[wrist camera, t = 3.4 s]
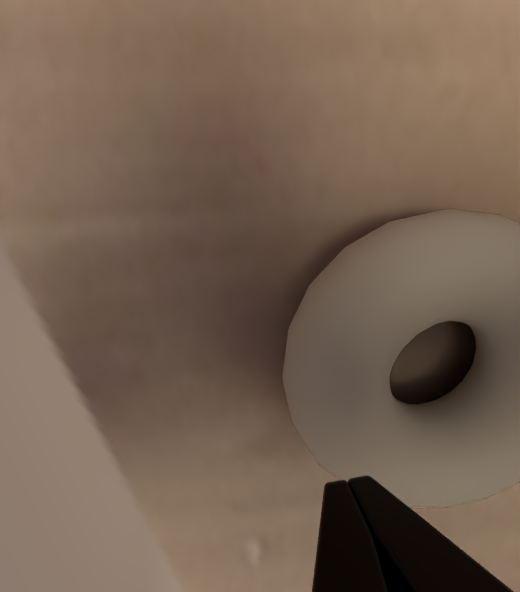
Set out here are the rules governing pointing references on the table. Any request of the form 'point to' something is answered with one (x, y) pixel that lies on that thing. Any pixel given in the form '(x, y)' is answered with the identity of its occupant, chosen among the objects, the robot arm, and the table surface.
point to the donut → (388, 344)
